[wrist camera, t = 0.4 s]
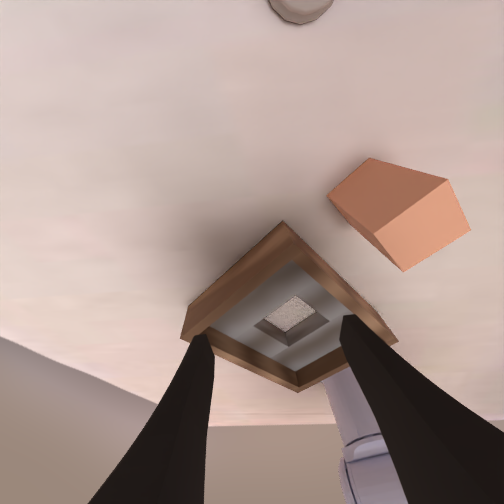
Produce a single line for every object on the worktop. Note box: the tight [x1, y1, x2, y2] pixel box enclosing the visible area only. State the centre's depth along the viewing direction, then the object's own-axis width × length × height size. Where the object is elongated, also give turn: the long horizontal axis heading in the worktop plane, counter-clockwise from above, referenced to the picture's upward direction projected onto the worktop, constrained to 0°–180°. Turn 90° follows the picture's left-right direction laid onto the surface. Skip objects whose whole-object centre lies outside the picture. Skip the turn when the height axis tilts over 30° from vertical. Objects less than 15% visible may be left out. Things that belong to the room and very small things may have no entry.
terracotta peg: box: [326, 158, 471, 272], centre depth 14 cm, size 4×4×7 cm
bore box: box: [180, 221, 399, 393], centre depth 23 cm, size 18×14×4 cm
